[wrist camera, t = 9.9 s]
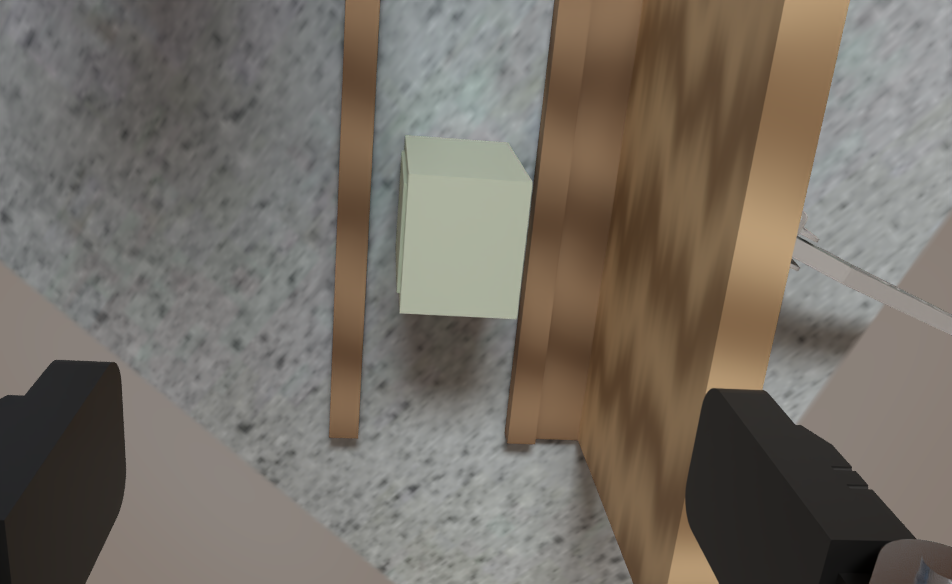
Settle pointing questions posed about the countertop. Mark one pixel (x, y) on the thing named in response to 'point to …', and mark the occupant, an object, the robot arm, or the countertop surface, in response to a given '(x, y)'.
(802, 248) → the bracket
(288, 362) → the countertop surface
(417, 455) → the countertop surface
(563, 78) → the brown wooden rack
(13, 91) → the countertop surface
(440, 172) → the pale green box
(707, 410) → the robot arm
